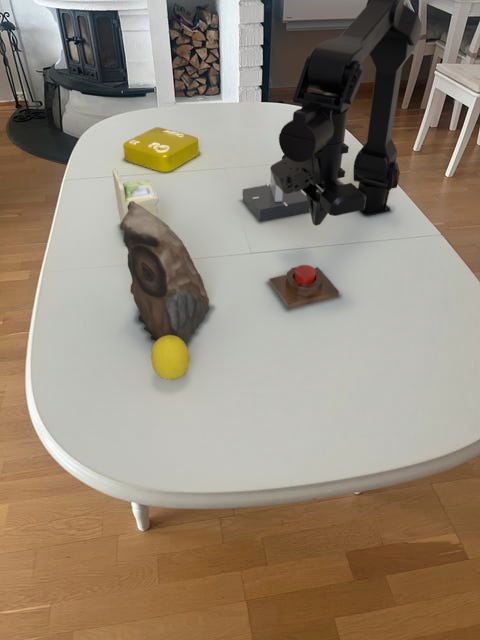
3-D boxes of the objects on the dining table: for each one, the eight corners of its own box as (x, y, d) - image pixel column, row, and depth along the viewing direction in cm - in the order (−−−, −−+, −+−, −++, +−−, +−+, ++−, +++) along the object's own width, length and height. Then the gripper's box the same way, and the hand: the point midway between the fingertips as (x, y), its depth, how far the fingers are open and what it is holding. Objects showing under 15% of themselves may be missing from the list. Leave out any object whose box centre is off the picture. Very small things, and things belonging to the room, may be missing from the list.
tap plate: (288, 191, 123) (289, 178, 121) (310, 213, 115) (311, 200, 113) (241, 199, 120) (241, 187, 118) (260, 223, 112) (261, 210, 110)
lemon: (154, 364, 80) (149, 325, 75) (190, 362, 81) (187, 323, 75) (153, 391, 76) (147, 352, 71) (191, 389, 76) (187, 350, 71)
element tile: (201, 153, 139) (201, 135, 136) (166, 174, 130) (165, 155, 127) (158, 141, 145) (156, 124, 142) (121, 160, 136) (119, 142, 133)
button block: (317, 272, 99) (319, 259, 97) (338, 296, 93) (340, 283, 91) (269, 283, 96) (269, 270, 94) (287, 309, 90) (288, 296, 88)
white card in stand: (270, 187, 118) (271, 167, 115) (277, 186, 118) (278, 167, 115) (275, 202, 113) (276, 181, 110) (282, 201, 113) (283, 181, 110)
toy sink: (163, 239, 107) (157, 180, 98) (128, 245, 105) (118, 186, 97) (154, 219, 113) (147, 162, 104) (120, 225, 111) (110, 167, 103)
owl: (180, 355, 82) (170, 248, 68) (111, 335, 85) (89, 229, 72) (213, 308, 90) (209, 205, 77) (149, 291, 94) (135, 190, 81)
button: (308, 271, 95) (309, 263, 93) (318, 282, 92) (319, 274, 91) (291, 275, 94) (291, 267, 92) (299, 286, 91) (300, 278, 90)
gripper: (254, 123, 85) (253, 207, 95) (306, 171, 72) (298, 263, 82) (315, 113, 88) (307, 196, 98) (375, 158, 75) (359, 248, 86)
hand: (316, 224), depth 91 cm, fingers closed
